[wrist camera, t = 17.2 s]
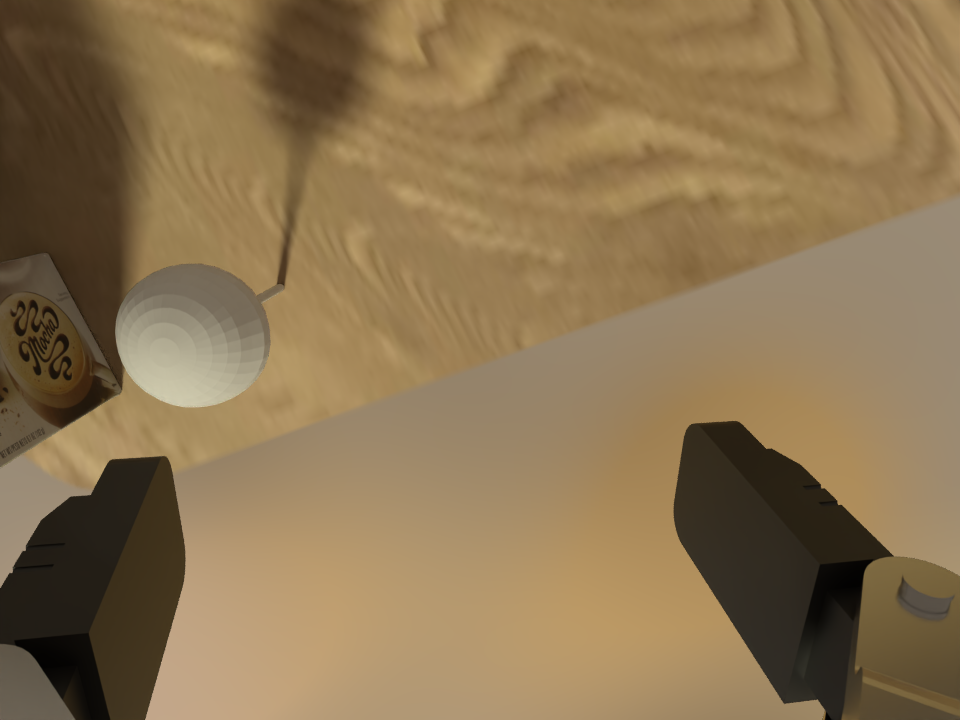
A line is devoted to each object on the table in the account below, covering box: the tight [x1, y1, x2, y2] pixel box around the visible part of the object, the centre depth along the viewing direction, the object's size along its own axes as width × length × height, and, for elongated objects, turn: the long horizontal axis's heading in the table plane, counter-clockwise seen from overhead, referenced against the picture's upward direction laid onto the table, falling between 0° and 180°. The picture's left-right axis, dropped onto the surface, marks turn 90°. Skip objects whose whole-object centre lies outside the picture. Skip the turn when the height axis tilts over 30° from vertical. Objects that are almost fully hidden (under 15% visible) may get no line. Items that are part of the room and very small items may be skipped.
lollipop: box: [115, 264, 284, 407], centre depth 35 cm, size 6×6×15 cm
